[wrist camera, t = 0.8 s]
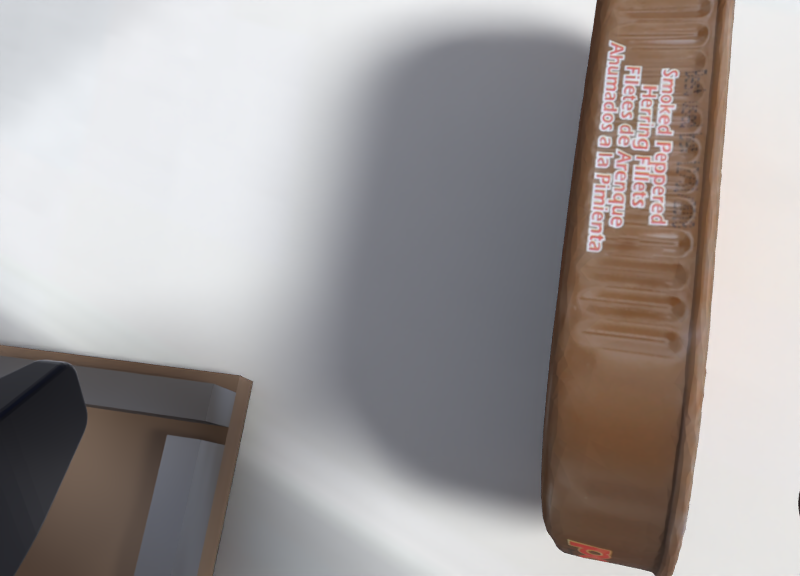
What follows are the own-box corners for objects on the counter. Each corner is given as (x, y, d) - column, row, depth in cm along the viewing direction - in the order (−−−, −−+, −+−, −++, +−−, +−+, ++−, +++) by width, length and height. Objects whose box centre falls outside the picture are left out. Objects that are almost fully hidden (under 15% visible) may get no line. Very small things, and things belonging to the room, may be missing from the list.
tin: (654, 570, 18) (733, 609, 11) (530, 543, 19) (517, 562, 11) (700, 59, 22) (783, -189, 15) (595, 54, 23) (620, -185, 15)
